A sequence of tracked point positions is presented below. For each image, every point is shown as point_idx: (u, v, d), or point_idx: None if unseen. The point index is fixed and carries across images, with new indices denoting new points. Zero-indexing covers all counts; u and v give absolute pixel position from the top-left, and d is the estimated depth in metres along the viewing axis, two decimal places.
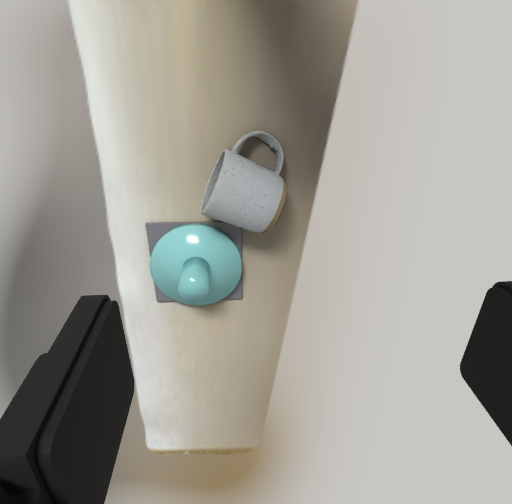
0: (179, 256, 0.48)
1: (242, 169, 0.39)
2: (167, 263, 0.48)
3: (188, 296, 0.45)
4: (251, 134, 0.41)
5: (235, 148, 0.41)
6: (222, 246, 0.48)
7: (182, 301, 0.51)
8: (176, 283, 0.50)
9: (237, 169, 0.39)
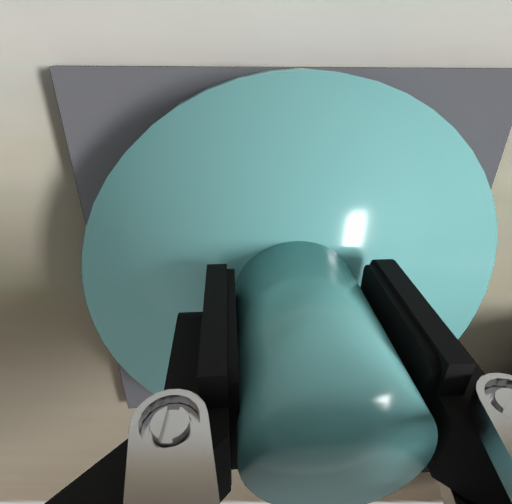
0: (366, 231, 0.10)
1: None
2: (338, 172, 0.09)
3: (290, 437, 0.06)
4: None
5: None
6: None
7: (95, 231, 0.10)
8: (216, 208, 0.10)
9: None
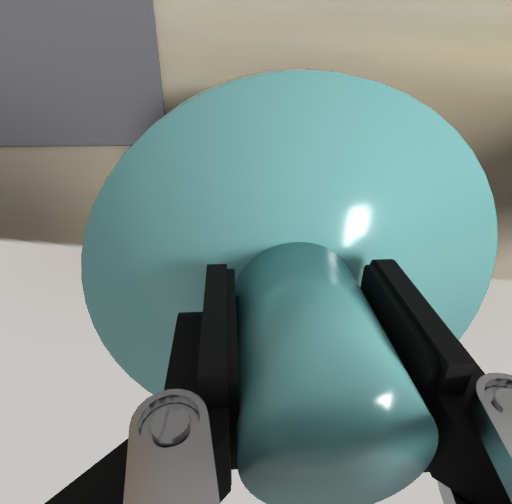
0: (366, 232, 0.10)
1: None
2: (339, 173, 0.09)
3: (290, 439, 0.06)
4: None
5: None
6: None
7: (94, 231, 0.10)
8: (216, 209, 0.10)
9: None
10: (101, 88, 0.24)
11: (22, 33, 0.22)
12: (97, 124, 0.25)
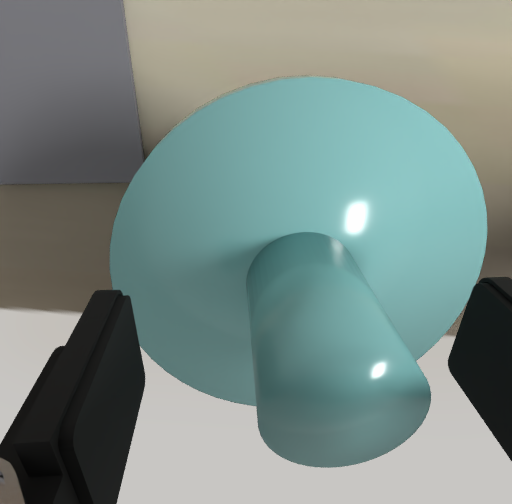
0: (367, 222, 0.11)
1: None
2: (341, 169, 0.10)
3: (303, 396, 0.07)
4: None
5: None
6: None
7: (122, 224, 0.11)
8: (231, 203, 0.11)
9: None
10: (48, 105, 0.17)
11: None
12: (46, 156, 0.18)
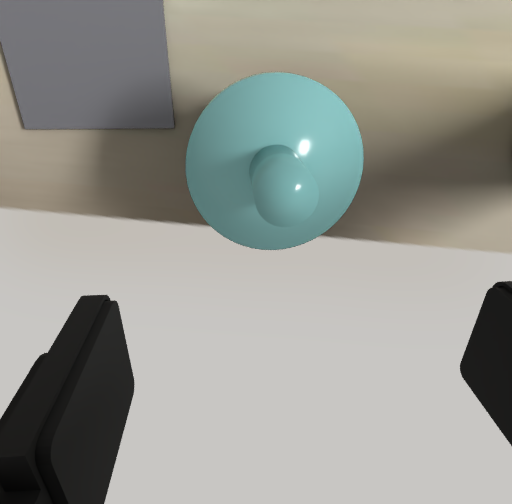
0: (305, 140, 0.24)
1: None
2: (292, 113, 0.23)
3: (271, 186, 0.20)
4: None
5: None
6: (316, 218, 0.27)
7: (194, 137, 0.24)
8: (243, 128, 0.24)
9: None
10: (120, 80, 0.29)
11: (57, 35, 0.27)
12: (116, 111, 0.30)
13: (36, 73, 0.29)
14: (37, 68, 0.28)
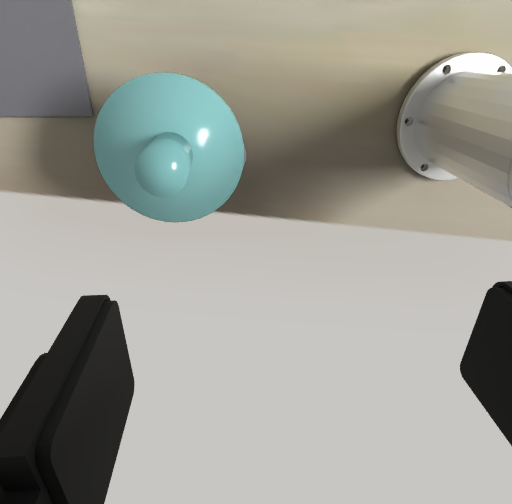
0: (192, 129, 0.29)
1: None
2: (179, 106, 0.29)
3: (147, 163, 0.26)
4: None
5: None
6: (210, 195, 0.32)
7: (98, 124, 0.29)
8: (139, 117, 0.29)
9: None
10: (41, 75, 0.34)
11: None
12: (40, 101, 0.35)
13: None
14: None
